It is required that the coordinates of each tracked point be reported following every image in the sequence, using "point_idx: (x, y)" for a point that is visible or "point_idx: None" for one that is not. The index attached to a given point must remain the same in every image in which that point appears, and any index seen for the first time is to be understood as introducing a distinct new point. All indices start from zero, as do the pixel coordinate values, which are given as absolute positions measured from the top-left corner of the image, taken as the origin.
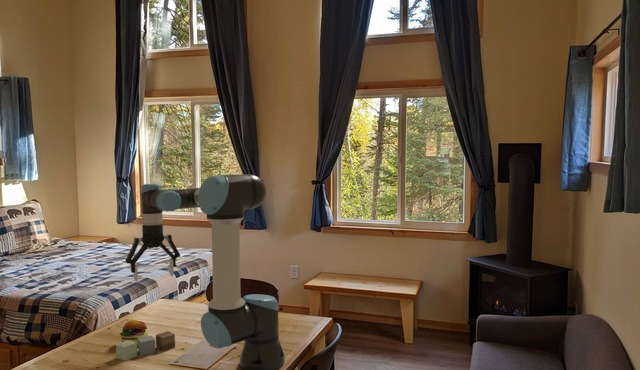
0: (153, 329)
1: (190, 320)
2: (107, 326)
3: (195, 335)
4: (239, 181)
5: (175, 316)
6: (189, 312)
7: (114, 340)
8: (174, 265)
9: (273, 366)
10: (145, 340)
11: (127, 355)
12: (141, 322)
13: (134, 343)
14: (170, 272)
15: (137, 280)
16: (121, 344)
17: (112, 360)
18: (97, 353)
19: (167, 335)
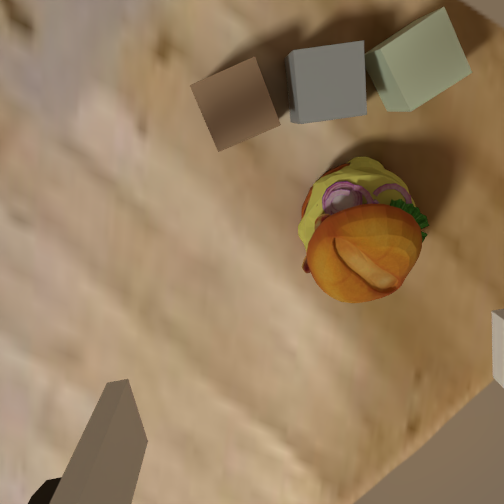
0: (261, 347)
1: None
2: (416, 447)
3: (95, 195)
4: None
5: (163, 457)
6: None
7: (416, 288)
8: (47, 494)
9: None
10: (337, 59)
11: (410, 24)
12: (344, 232)
13: (392, 40)
14: (131, 437)
15: (500, 314)
16: (449, 58)
17: None
18: (496, 171)
19: (226, 81)
